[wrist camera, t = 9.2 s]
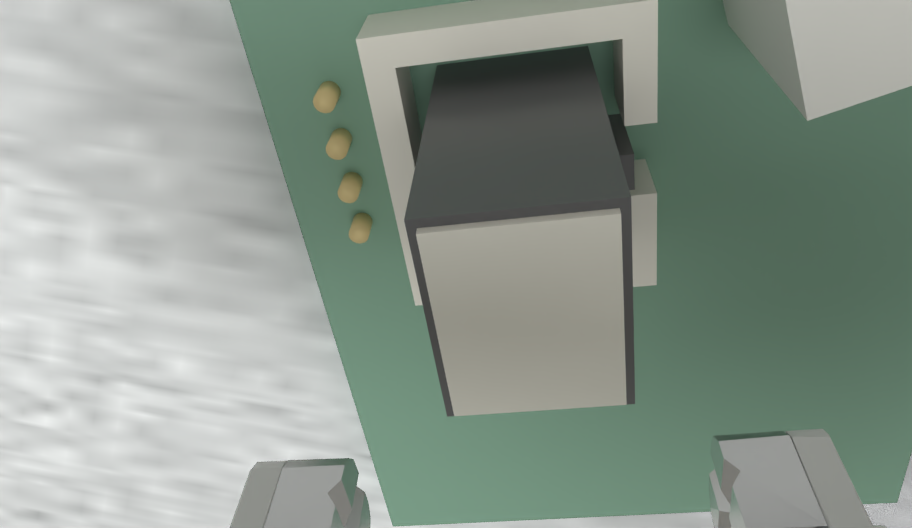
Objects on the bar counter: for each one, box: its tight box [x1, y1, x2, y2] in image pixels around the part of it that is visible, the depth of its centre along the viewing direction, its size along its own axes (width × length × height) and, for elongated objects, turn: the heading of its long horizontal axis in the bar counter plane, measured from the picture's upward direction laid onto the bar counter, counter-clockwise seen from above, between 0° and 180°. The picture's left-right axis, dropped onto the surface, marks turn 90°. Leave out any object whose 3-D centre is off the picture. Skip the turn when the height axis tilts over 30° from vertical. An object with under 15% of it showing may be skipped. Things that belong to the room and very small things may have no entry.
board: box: [230, 0, 912, 526], centre depth 23 cm, size 20×26×3 cm
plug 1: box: [404, 46, 635, 417], centre depth 18 cm, size 5×5×8 cm
